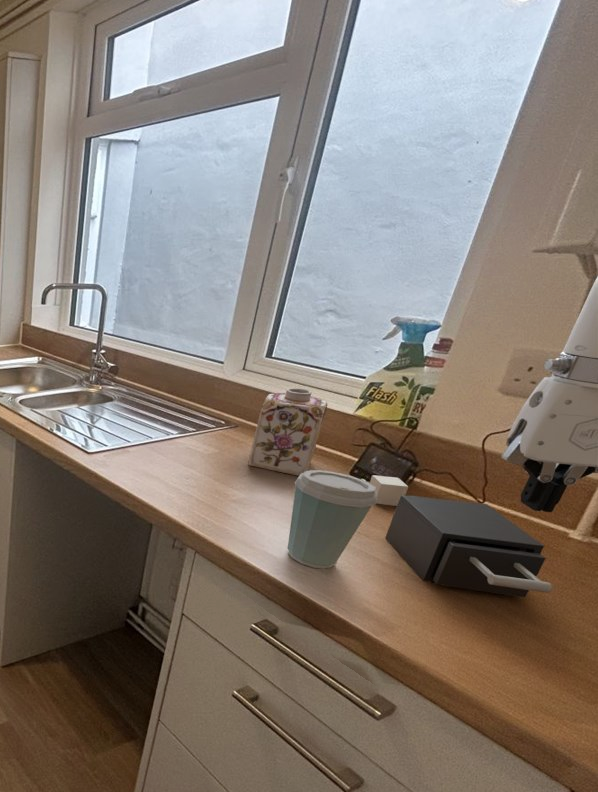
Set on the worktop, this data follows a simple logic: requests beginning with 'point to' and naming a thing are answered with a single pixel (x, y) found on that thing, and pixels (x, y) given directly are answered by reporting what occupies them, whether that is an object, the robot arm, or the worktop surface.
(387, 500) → the block
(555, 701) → the worktop surface
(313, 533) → the disposable coffee cup
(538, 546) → the black cabinet
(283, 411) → the decorative jar
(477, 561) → the drawer
